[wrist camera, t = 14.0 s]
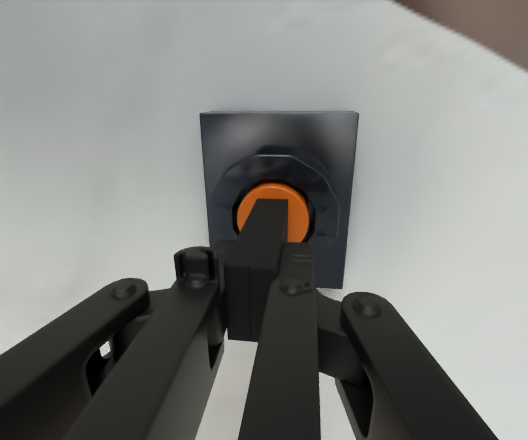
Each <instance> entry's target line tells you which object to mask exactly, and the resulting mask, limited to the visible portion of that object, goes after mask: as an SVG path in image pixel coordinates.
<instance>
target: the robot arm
mask: <svg viewBox="0 0 528 440" xmlns="http://www.w3.org/2000/svg"><path fill="white" fill-rule="evenodd" d="M287 239H288V199H263V198H257V200H256V202H255V204H254V206H253V208H252V209H251V211H250V213H249V215H248V217H247V219H246V221H245V223H244V225H243V227H242V229H241V231H240V233H239V235H238V237H237V239H236V240H219V241H217V242H215V243H214V244H212V245H211V247H203V246H199V247H190V248H185V249H183V250H180V251H178V252H177V253H176V254H174V262H175V270H176V278H177V280H176V281H175V282H174V284H173V285H172V287H171V288H169V289H163V290H155V291H149V290H148V285H147V283H146V282H145V281H144V280H141V279H137V278H125V279H121V280H118V281H115V282H113V283H111V284H109V285H107V286H105V287H103V288H102V289H100V290H99V291H97V292H96V293H94V294H93V295H91V296H90V297H88V298H87V299H85V300H84V301H82V302H81V303H79V304H78V305H76V306H75V307H73V308H71V309H70V310H68V311H67V312H65V313H64V314H62V315H61V316H59V317H58V318H56V319H55V320H53V321H52V322H50V323H49V324H47V325H46V326H44V327H43V328H41V329H39V330H38V331H36V332H35V333H33V334H32V335H30V336H29V337H27V338H26V339H24V340H23V341H21V342H20V343H18V344H17V345H15V346H14V347H12V348H11V349H9V350H7V351H6V352H4V353H3V354H1V355H0V440H195V437H196V434H197V431H198V428H199V425H200V422H201V419H202V416H203V413H204V410H205V407H206V404H207V401H208V398H209V395H210V392H211V389H212V386H213V383H214V380H215V377H216V374H217V371H218V368H219V365H220V362H221V359H222V356H223V353H224V334H225V331H226V329H227V332H228V340H240V341H251V342H258V346H257V351H256V356H255V361H254V365H253V370H252V375H251V380H250V384H249V389H248V394H247V399H246V403H245V408H244V413H243V418H242V422H241V427H240V432H239V437H238V440H321V430H320V398H319V372H321V373H324V374H327V375H329V376H332V377H334V378H335V384H336V387H337V390H338V392H339V395H340V398H341V400H342V403H343V406H344V408H345V411H346V414H347V416H348V419H349V422H350V424H351V427H352V430H353V432H354V435H355V438H356V440H498V438H497V437H496V436H495V434H494V433H493V432H492V431H491V429H490V428H489V427H488V426H487V424H486V423H485V422H484V421H483V419H482V418H481V417H480V415H479V414H478V413H477V412H476V410H475V409H474V408H473V407H472V405H471V404H470V403H469V402H468V400H467V399H466V398H465V397H464V395H463V394H462V393H461V391H460V390H459V389H458V388H457V386H456V385H455V384H454V383H453V381H452V380H451V379H450V378H449V376H448V375H447V374H446V372H445V371H444V370H443V369H442V367H441V366H440V365H439V364H438V362H437V361H436V360H435V359H434V357H433V356H432V355H431V354H430V352H429V351H428V350H427V348H426V347H425V346H424V345H423V343H422V342H421V341H420V340H419V338H418V337H417V336H416V335H415V333H414V332H413V331H412V330H411V328H410V327H409V326H408V324H407V323H406V322H405V321H404V319H403V318H402V317H401V316H400V314H399V313H398V312H397V311H396V309H395V308H394V307H393V305H392V304H391V303H390V302H388V301H387V300H386V299H385V298H383V297H381V296H379V295H376V294H373V293H368V292H355V293H350V294H348V295H347V296H345V297H344V298H343V300H342V302H340V301H336V300H333V299H330V298H328V297H326V296H324V295H322V294H321V293H320V292H319V291H318V290H317V289H316V287H315V281H314V249H313V248H312V247H311V246H310V244H309V243H302V242H287ZM107 341H109V345H110V350H111V351H110V352H109V353H107V354H106V355H104V356H103V357H102V356H101V353H100V349H99V348H100V347H101V346H102V345H103V344H105V343H106V342H107Z"/></svg>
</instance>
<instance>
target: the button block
mask: <svg viewBox="0 0 528 440" xmlns="http://www.w3.org/2000/svg"><path fill="white" fill-rule="evenodd" d="M358 120H359V113H357V112H354V111H211V112H205V113H200V126H201V139H202V152H203V165H204V178H205V191H206V204H207V217H208V230H209V242H210V247H211V245H212V244H214V243H215V242H217V241H219V240H236V239H237V237H238V235H239V233H240V231H239V228H238V224H237V213H238V209H239V206H240V204H241V202H242V200H243V199H244V197H245V196H246V194H247V193H248V191H249V190H250V189H251V187H253V186H254V185H255V184H256V183H258V182H260V181H262V180H265V179H279V180H286V181H287V182H289V183H291V184H293V185H294V186H296V187H298V188H299V189H301V190H302V192H303V193H304V195H305V196H306V199H307V201H308V206H309V226H308V230H307V233H306V235H305V237H304V239H303V240H302V241H301V242H302V243H309V244H310V246H311V247H312V248H313V249H314V281H315V287H317V288H332V289H342V288H343V278H344V268H345V257H346V247H347V236H348V225H349V215H350V204H351V194H352V183H353V173H354V162H355V151H356V141H357V130H358Z"/></svg>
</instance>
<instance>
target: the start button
mask: <svg viewBox="0 0 528 440" xmlns="http://www.w3.org/2000/svg"><path fill="white" fill-rule="evenodd" d="M257 198H263V199H288V239H287V242H301V241H302V240H303V239H304V237H305V235H306V233H307V230H308V226H309V206H308V201H307V199H306V196H305V195H304V193H303V192H302V190H301V189H299V188H298V187H296V186H294V185H293V184H291V183H289V182H287V181H286V180H279V179H265V180H262V181H260V182H258V183H256V184H255V185H254V186H253V187H251V189H250V190H249V191H248V193H247V194H246V196H245V197H244V199H243V200H242V202H241V204H240V206H239V209H238V213H237V224H238V228H239V231H241V229H242V227H243V225H244V223H245V221H246V219H247V217H248V215H249V213H250V211H251V209H252V208H253V206H254V204H255V202H256V200H257Z"/></svg>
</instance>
